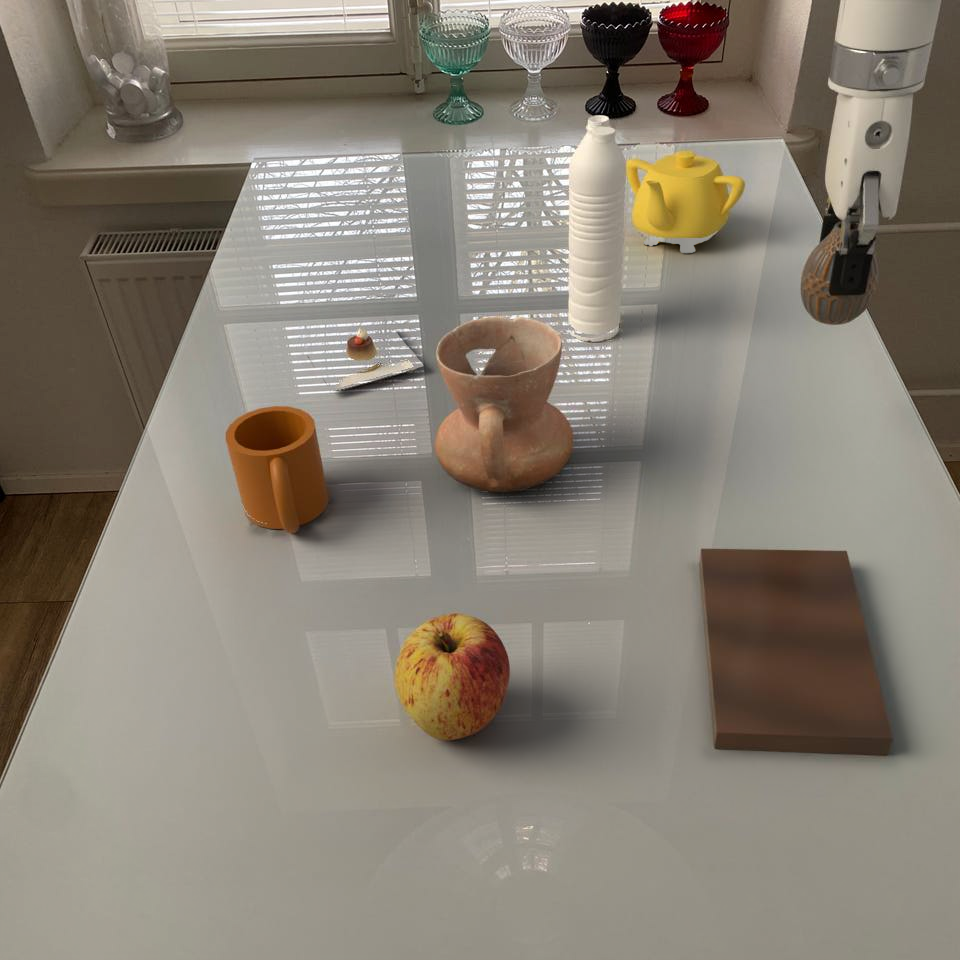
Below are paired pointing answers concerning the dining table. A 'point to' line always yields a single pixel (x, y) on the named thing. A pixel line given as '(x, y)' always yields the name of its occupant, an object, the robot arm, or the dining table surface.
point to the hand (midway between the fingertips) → (840, 273)
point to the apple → (452, 675)
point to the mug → (278, 467)
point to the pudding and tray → (365, 350)
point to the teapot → (682, 196)
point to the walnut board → (789, 654)
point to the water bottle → (596, 231)
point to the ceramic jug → (503, 405)
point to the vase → (818, 281)
